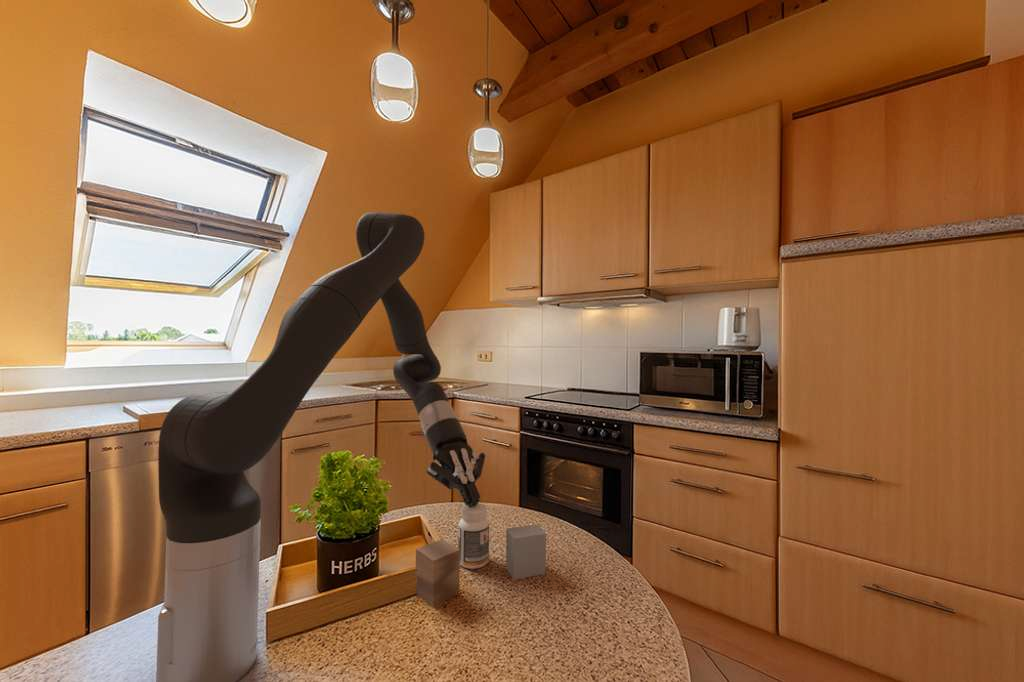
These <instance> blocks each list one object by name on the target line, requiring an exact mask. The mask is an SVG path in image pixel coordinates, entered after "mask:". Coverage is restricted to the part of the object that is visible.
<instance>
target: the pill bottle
mask: <svg viewBox="0 0 1024 682" xmlns="http://www.w3.org/2000/svg"><path fill="white" fill-rule="evenodd" d="M487 512H488V510H487V506H486V505H485V504H484V503H483V504H482V503H480V502H479V503H478V504H477V505H476V506H473V507H468V505H466V504H464V505H463V506H462V507H461V510H460V516H461V518H460V520H459V522H458V524H457V525H458V526H457V527H458V533H457V534H458V537H457V539H458V540H457V541H458V543H457V546H458V547H457V548H458V549H460V567H463V568H465V569H471V570H474V569H480V568H483V567H484V566H486V565H487V564H488V563H489V560H490V523H489V519H488V518H487V517H486V515H487Z"/></svg>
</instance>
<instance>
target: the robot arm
mask: <svg viewBox="0 0 1024 682" xmlns="http://www.w3.org/2000/svg"><path fill="white" fill-rule="evenodd" d="M355 229H356V230H355V237H356V238H355V239H356V244H357V248H358V250H359V254H360V257H361V258H360V259H358V260H356V261H353V262H351V263H349V264H347V265H344V266H341V267H339V268H337V269H335V270H332V271H331V272H328V273H326V274H325V275H323V276H321V277H319V278H318V279H317V280H315V281H314V282H313V283H311V285H309V286H308V287H307V288H306V289H305V291H303V293H301V295H300V296H299V297H297V299H296V300H295V301H294V302H293V303H292V304H291V305H290V306H289V308H288V309H287V310H286V312H285V313H284V316H283V317H282V320H281V322H280V325H279V328H278V332H277V334H276V335H277V336H276V339H275V343H274V346H273V347H272V349H271V351H270V352H269V354H268V356H267V358H266V359H265V360H264V361H263V362H262V364H260V366H258V368H257V369H256V370H255V371H254V372H253V373H252V374H251V375H250V376H249V377H247V379H246V380H245V381H244V382H243V383H242V384H241V385H239V386H238V387H237V388H236V389H235V390H234V391H232V392H231V393H228V392H227V393H226V392H219V391H218V392H217V391H204V392H198V393H194V394H191V395H189V396H186V397H184V398H183V399H181V400H180V401H177V403H176V404H175V405H173V406H172V407H171V409H170V410H169V411H168V412H167V414H166V416H165V418H164V419H163V422H162V425H161V428H160V430H159V436H158V437H159V438H158V450H157V453H158V457H157V461H158V465H157V466H158V467H157V468H158V499H159V500H158V501H159V507H160V510H161V513H162V515H163V518H164V520H165V524H166V533H165V534H166V537H165V538H166V540H165V541H166V542H165V544H166V545H165V570H164V601H163V605H162V607H161V609H160V611H159V614H158V618H157V620H158V621H157V642H156V645H157V646H156V648H157V649H156V671H155V672H156V674H155V675H156V676H155V677H156V678H155V682H238V681H239V680H240V679H242V677H243V676H244V675H246V674H247V673H248V672H249V670H250V669H251V668H252V667H253V666H254V663H255V661H256V658H257V654H258V653H257V652H258V648H257V647H258V639H259V638H258V623H259V594H260V593H259V591H260V587H259V585H260V557H261V556H260V554H261V552H260V551H261V525H262V524H261V521H262V519H261V517H262V499H261V496H260V495H259V494H258V492H257V490H255V489H254V488H253V486H252V485H251V484H250V483H249V481H248V479H247V477H246V474H245V471H247V470H249V469H251V468H253V467H254V466H256V465H257V464H258V463H259V462H261V461H262V460H263V459H264V457H266V456H267V454H268V453H269V452H270V451H271V450H272V448H273V446H275V444H276V443H277V441H278V440H279V438H280V437H281V435H282V434H283V432H284V431H285V429H286V428H287V425H288V424H289V422H290V420H291V419H292V418H293V416H294V414H295V412H296V411H297V409H298V407H299V406H300V404H301V403H302V402H303V399H304V398H305V397H306V395H307V394H308V392H309V390H311V388H312V386H313V385H314V384H315V382H316V381H317V380H318V378H319V377H320V376H321V374H322V373H323V372H324V371H325V370H326V368H327V366H328V365H330V363H331V361H332V360H333V359H334V357H335V356H336V355H337V354H338V352H339V351H340V349H342V348H343V346H344V345H345V344H346V343H347V342H348V341H349V339H350V338H351V337H352V335H353V334H354V333H355V331H356V330H357V329H358V328H359V327H360V325H361V323H362V322H363V320H365V318H366V316H367V315H368V313H370V311H371V310H372V309H373V308H374V306H375V305H376V304H377V303H378V302H379V301H380V300H381V302H382V305H383V306H384V307H383V308H384V310H385V312H386V315H387V318H388V319H387V320H388V322H389V326H390V330H391V334H392V338H393V342H394V346H395V348H396V350H397V352H399V353H400V354H402V355H407V356H406V357H403V358H399V359H398V360H397V361H396V362H394V365H393V368H392V370H393V371H392V373H393V376H394V379H395V381H396V382H397V384H398V385H399V387H401V388H402V389H403V391H404V392H405V393H406V394H407V395H408V396H409V398H410V400H411V401H412V403H413V405H414V407H415V410H416V413H417V415H418V417H419V423H420V426H421V429H422V432H423V434H424V437H425V439H426V442H427V444H428V446H429V449H430V451H431V454H432V455H433V456H432V459H433V461H432V462H431V463H430V464H429V466H428V467H427V469H426V473H427V474H428V475H429V476H431V478H433V479H434V480H435V481H437V482H439V484H442V485H443V486H445V487H446V488H447V489H449V490H452V489H456V490H458V491H459V493H460V496H461V498H462V501H463V503H464V505H468V507H473V506H476V505H477V504H478V503H479V504H480V499H481V495H480V493H479V491H478V488H477V486H476V483H477V481H478V480H479V479H480V477H481V476H482V473H483V468H484V464H485V460H486V459H485V458H486V455H485V453H484V452H480V453H477V452H475V451H474V450H473V448H472V447H471V446H470V444H469V443H468V441H467V440H468V439H467V435H466V433H465V431H464V428H463V427H462V424H461V422H460V420H459V418H458V416H457V413H456V412H455V409H454V408H453V406H452V405H451V403H450V400H449V399H448V397H447V395H446V394H447V393H446V392H445V390H444V388H443V387H442V385H441V384H439V383H437V382H434V381H435V380H437V379H438V378H439V377H440V375H441V372H442V366H441V364H440V361H439V359H438V357H437V356H436V354H435V352H434V350H433V348H432V347H431V345H430V342H429V340H428V337H427V331H426V327H425V326H426V325H425V322H424V321H425V320H424V316H423V314H422V311H421V308H420V307H419V305H418V304H417V302H416V300H415V299H414V298H413V296H411V295H410V293H409V291H408V290H407V289H406V287H404V285H403V284H402V282H401V280H400V279H399V278H400V277H401V276H402V275H403V274H405V273H406V272H407V270H409V269H410V268H411V267H412V266H413V265H414V263H416V261H417V260H418V258H419V256H421V253H422V251H423V247H424V244H425V237H426V236H425V229H424V226H423V225H422V223H421V222H420V221H419V220H418V219H417V218H416V217H414V216H411V215H408V214H404V213H395V212H393V213H392V212H379V211H377V212H376V211H374V212H373V211H372V212H370V211H369V212H366V213H365V214H363V215H362V216H361V217H360V218H359V220H358V222H357V224H356V228H355ZM472 465H473V466H472Z"/></svg>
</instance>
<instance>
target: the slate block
mask: <svg viewBox="0 0 1024 682" xmlns="http://www.w3.org/2000/svg"><path fill="white" fill-rule="evenodd" d="M505 536H506V540H505V541H506V542H505V543H506V544H505V568H506V570H507V572H508V573H509V575H510V577H511V578H512V580H513V581H514V580H520V579H524V578H529V577H535V576H536V577H537V576H542V575H546V572H547V571H546V570H547V568H546V567H547V562H546V561H547V559H546V557H547V552H546V551H547V533H546V532H545V531H544V530H543V529H542V527H540V526H539V524H529V525H523V526H514V527H507V528H506V535H505Z"/></svg>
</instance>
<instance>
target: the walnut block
mask: <svg viewBox="0 0 1024 682" xmlns="http://www.w3.org/2000/svg"><path fill="white" fill-rule="evenodd" d="M460 567H461V565H460V549H458V547H456V546H454V544H451V543H450V542H448V541H446V540H444V539H443V538H441V539H438V540H436V541H433V542H430V543H428V544H425V545H422V546H420V547H418V548H415V569H416V568H417V582H416V583H417V585H416V593H415V594H416V595H417V596H419V597H420V599H422V600H423V601H424V602H426V604H428V605H429V606H430V607H431V608H434V607H436V606H438V605H439V604H442V603H444V602H446V601H448V600H450V599H452V598H453V597H456V596H457V595H459V594H460V573H461V571H460V570H461V569H460Z"/></svg>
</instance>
